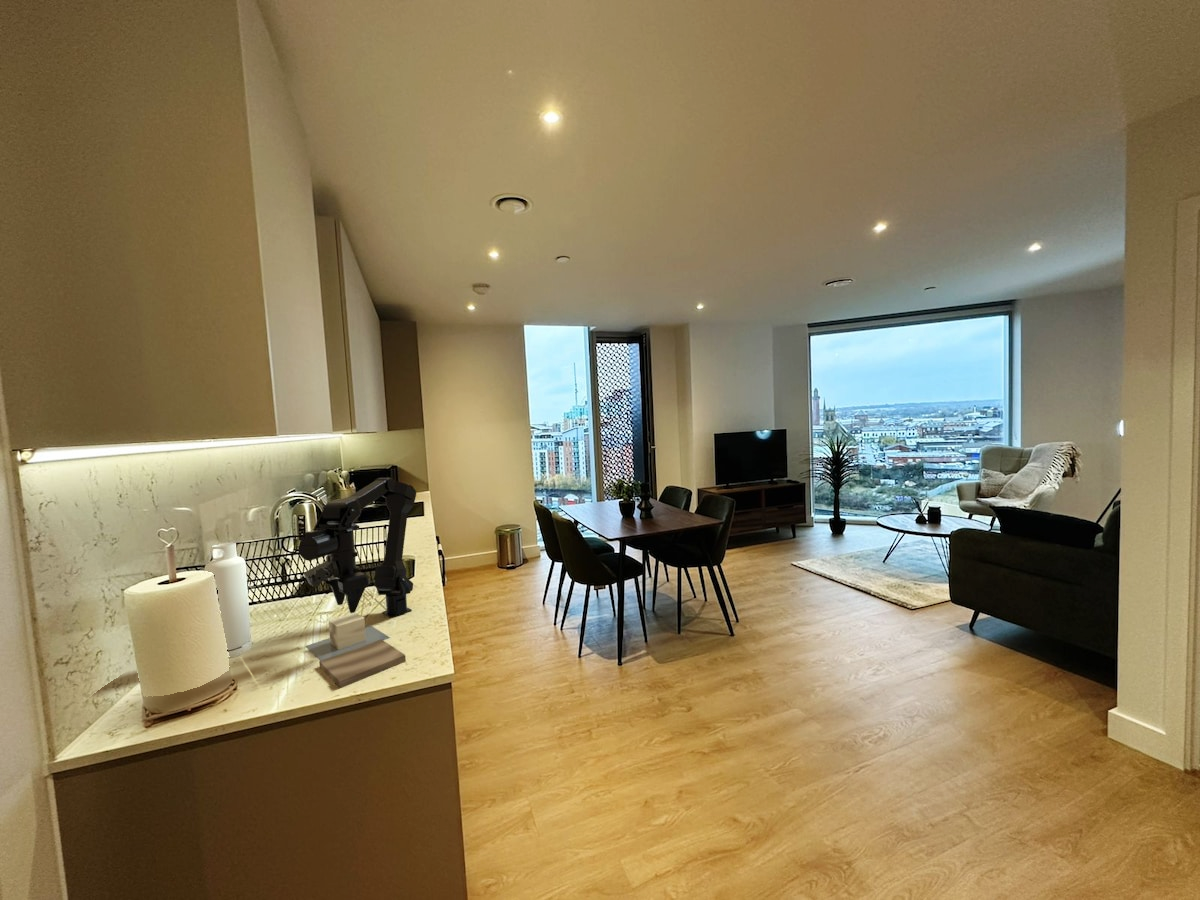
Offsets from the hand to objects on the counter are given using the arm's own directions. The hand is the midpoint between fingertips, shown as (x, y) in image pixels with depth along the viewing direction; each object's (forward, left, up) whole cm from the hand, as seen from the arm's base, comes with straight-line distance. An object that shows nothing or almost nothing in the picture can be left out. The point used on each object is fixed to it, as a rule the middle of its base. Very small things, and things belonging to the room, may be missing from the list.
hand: (346, 608), depth 116 cm
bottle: (-20, -21, -9) cm, 30 cm away
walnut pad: (+16, -2, -9) cm, 19 cm away
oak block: (0, 0, -9) cm, 9 cm away
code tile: (0, 0, -9) cm, 9 cm away
